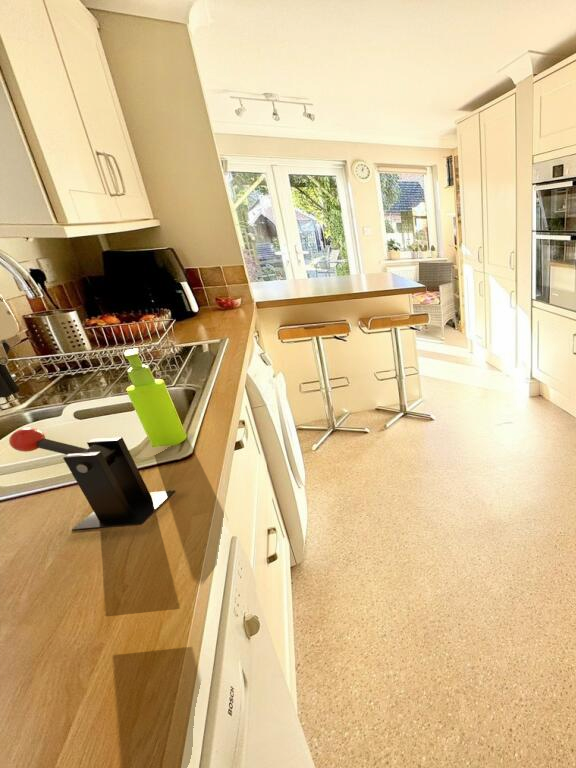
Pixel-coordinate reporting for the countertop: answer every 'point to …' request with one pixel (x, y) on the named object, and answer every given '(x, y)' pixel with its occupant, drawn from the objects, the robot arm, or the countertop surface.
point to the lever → (53, 444)
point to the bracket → (113, 487)
